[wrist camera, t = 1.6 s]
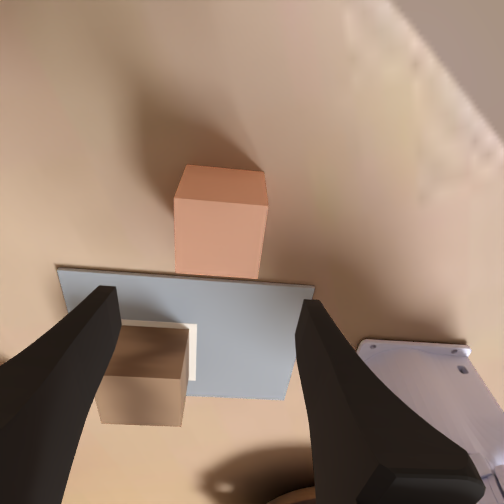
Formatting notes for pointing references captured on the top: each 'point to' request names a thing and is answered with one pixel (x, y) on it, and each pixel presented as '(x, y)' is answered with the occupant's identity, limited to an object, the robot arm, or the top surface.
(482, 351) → the top surface
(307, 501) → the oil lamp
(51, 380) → the robot arm
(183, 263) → the terracotta block
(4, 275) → the top surface
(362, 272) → the top surface
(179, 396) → the walnut block
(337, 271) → the top surface
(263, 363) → the mat
